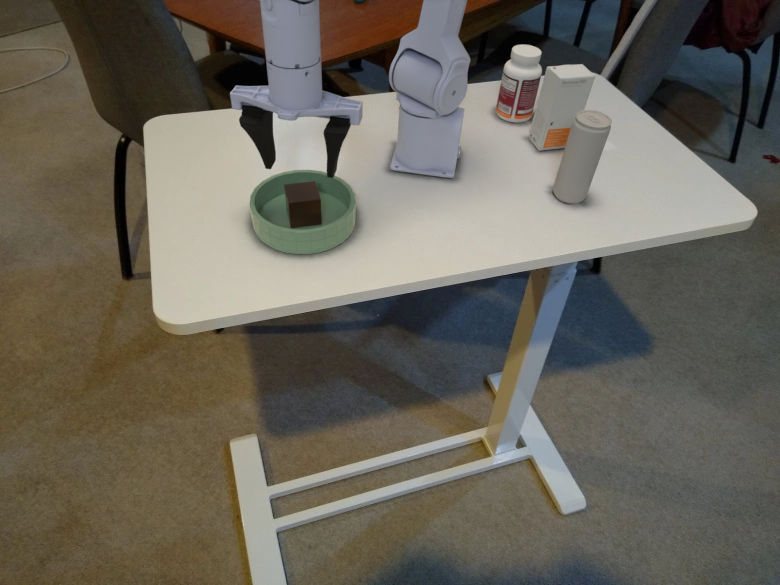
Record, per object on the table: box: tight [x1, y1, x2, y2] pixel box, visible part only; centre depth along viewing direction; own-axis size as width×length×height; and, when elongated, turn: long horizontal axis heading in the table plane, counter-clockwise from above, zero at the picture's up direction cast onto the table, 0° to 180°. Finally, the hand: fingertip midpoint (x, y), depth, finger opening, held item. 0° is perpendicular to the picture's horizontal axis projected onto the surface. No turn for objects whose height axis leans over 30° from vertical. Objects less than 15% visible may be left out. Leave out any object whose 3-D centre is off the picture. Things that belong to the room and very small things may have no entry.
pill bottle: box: [495, 44, 543, 123], centre depth 94 cm, size 6×6×11 cm
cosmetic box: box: [528, 63, 596, 152], centre depth 87 cm, size 6×4×12 cm
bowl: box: [248, 169, 357, 255], centre depth 73 cm, size 13×13×4 cm
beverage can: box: [552, 109, 613, 204], centre depth 78 cm, size 5×5×12 cm
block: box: [284, 181, 322, 228], centre depth 73 cm, size 4×4×4 cm
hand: (301, 168), depth 69 cm, fingers open, 7 cm apart
